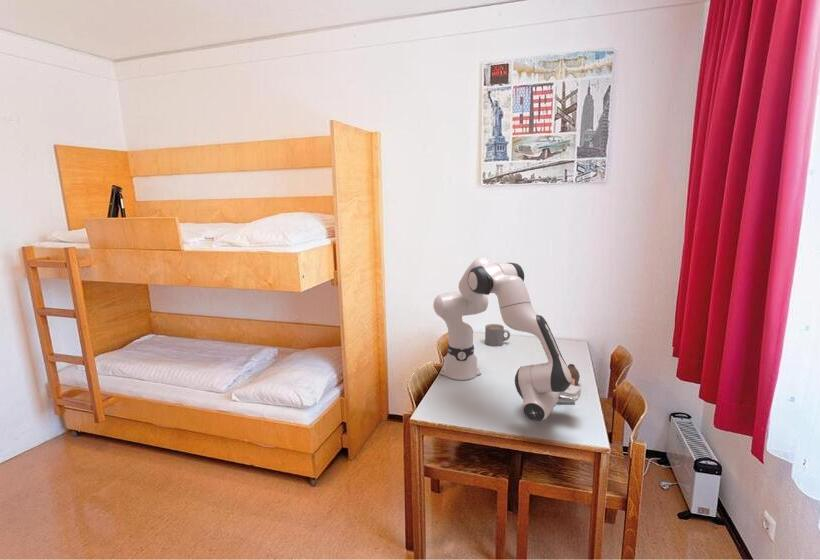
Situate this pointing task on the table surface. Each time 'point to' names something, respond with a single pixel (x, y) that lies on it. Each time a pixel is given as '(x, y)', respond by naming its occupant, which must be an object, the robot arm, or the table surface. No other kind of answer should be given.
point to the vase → (574, 373)
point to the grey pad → (565, 402)
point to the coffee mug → (495, 335)
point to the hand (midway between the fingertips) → (556, 381)
